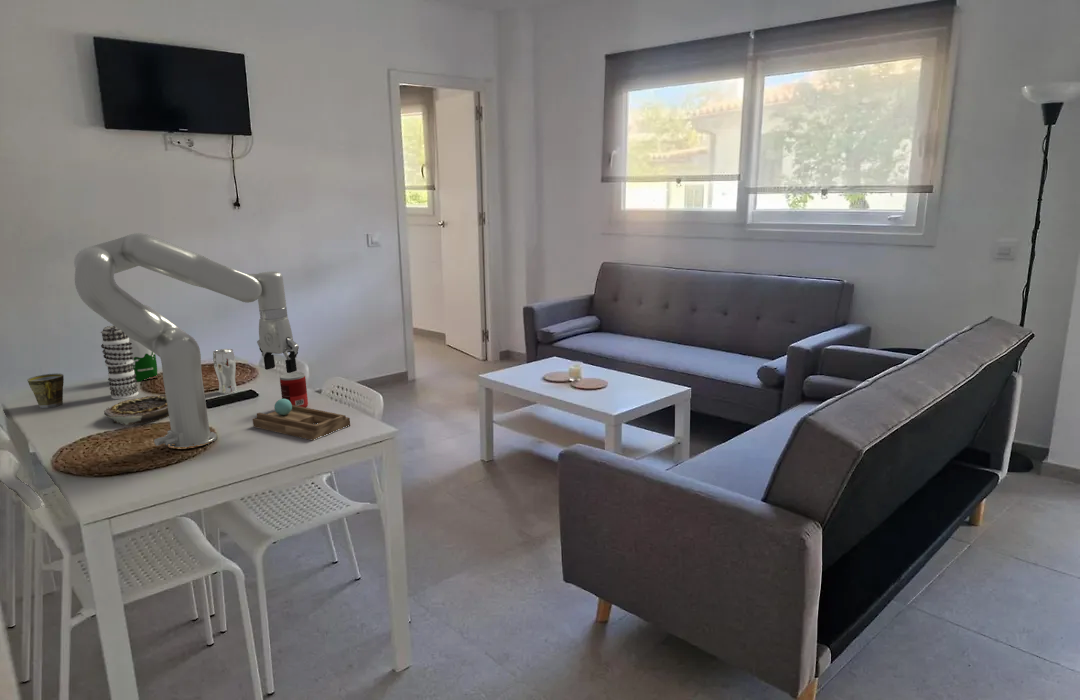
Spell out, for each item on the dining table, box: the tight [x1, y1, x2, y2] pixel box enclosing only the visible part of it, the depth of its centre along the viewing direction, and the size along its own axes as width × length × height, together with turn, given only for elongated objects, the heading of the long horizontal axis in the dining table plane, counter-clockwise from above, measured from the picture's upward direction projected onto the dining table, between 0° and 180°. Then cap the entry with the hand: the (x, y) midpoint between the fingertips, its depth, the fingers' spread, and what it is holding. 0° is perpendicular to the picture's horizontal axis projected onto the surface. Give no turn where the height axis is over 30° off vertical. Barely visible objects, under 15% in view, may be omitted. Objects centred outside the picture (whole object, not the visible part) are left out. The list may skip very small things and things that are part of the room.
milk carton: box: [128, 337, 158, 383], centre depth 261 cm, size 9×9×20 cm
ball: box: [273, 398, 292, 415], centre depth 205 cm, size 5×5×5 cm
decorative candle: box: [99, 325, 139, 400], centre depth 238 cm, size 9×9×25 cm
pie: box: [103, 394, 169, 426], centre depth 217 cm, size 28×27×5 cm
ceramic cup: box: [27, 372, 64, 409], centre depth 229 cm, size 13×10×10 cm
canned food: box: [279, 371, 309, 408], centre depth 220 cm, size 8×8×11 cm
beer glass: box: [212, 348, 238, 395], centre depth 240 cm, size 7×7×15 cm
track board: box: [252, 405, 351, 441], centre depth 202 cm, size 14×26×4 cm, turn 59°
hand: (280, 370), depth 203 cm, fingers open, 9 cm apart
